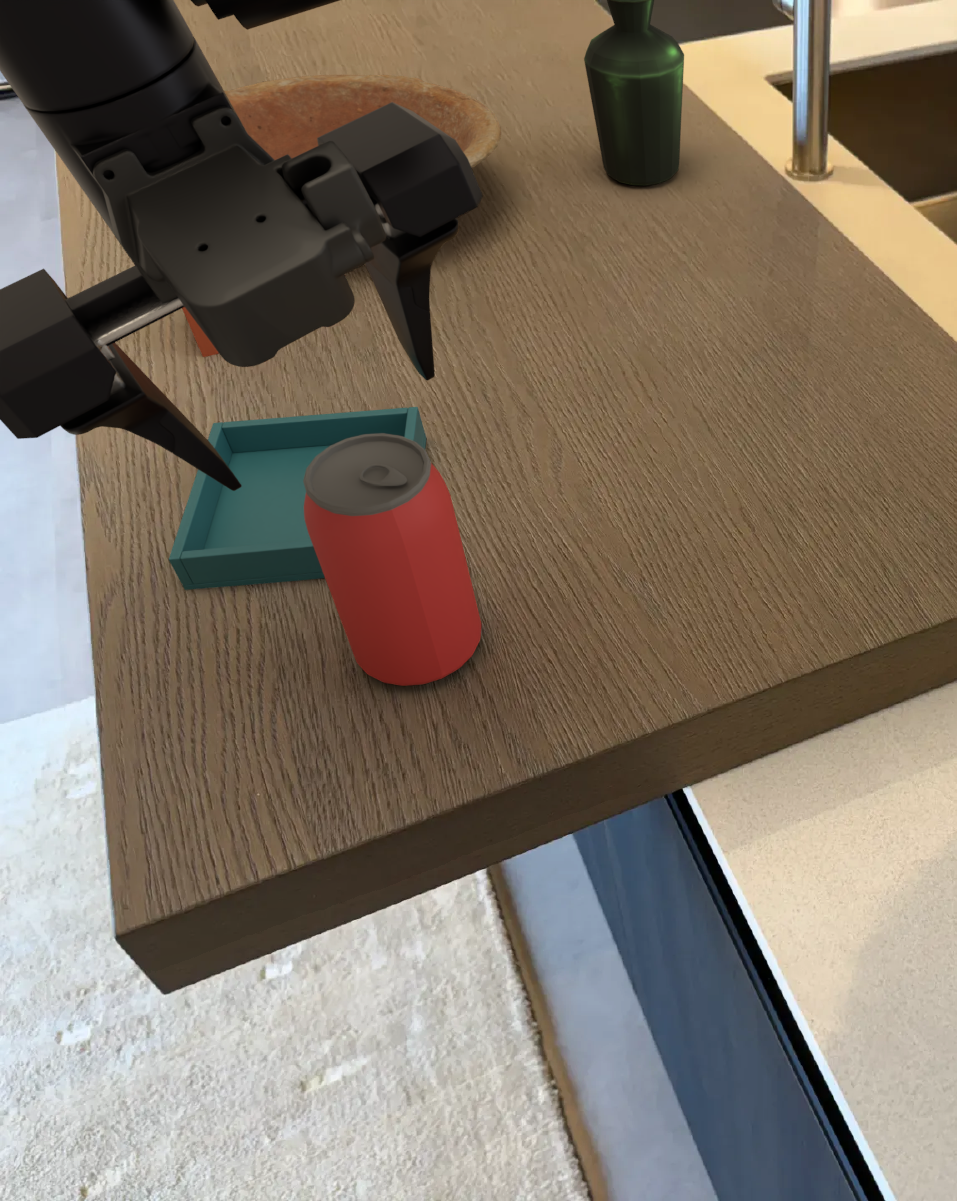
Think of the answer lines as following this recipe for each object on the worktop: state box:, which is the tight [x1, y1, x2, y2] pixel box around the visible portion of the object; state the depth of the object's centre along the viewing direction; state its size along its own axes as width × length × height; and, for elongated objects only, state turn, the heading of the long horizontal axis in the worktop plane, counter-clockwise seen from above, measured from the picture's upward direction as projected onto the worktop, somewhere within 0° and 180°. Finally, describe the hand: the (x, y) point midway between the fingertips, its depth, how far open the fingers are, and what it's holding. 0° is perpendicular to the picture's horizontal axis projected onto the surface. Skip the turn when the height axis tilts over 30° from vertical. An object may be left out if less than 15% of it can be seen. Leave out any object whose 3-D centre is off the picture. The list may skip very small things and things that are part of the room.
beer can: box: [303, 433, 483, 687], centre depth 56 cm, size 7×7×12 cm
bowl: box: [224, 74, 502, 169], centre depth 90 cm, size 24×24×8 cm
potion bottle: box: [583, 0, 685, 186], centre depth 92 cm, size 8×8×18 cm
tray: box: [168, 406, 427, 591], centre depth 67 cm, size 12×12×2 cm
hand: (333, 428), depth 49 cm, fingers open, 9 cm apart
